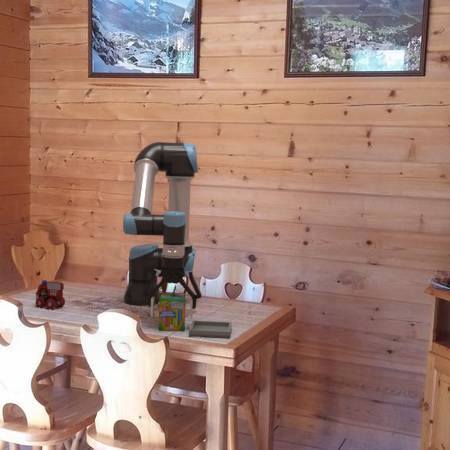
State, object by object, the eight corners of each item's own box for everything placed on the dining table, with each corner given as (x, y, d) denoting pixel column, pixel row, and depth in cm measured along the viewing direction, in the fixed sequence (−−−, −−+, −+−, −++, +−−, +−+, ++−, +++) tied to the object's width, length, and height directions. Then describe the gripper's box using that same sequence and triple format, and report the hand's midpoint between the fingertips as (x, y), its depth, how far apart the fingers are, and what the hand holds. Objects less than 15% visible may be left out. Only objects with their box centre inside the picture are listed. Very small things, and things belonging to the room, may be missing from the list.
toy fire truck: (43, 303, 269) (43, 277, 268) (68, 307, 264) (68, 281, 263) (31, 306, 263) (31, 280, 262) (56, 311, 257) (56, 283, 256)
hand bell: (175, 319, 251) (176, 276, 249) (152, 319, 249) (154, 276, 248) (173, 314, 259) (175, 272, 257) (151, 314, 258) (152, 272, 256)
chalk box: (158, 324, 242) (159, 283, 241) (184, 324, 243) (185, 283, 242) (158, 330, 233) (159, 288, 232) (184, 331, 234) (186, 288, 232)
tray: (188, 336, 227) (189, 330, 227) (192, 326, 240) (193, 320, 240) (229, 338, 226) (230, 331, 226) (231, 328, 240) (231, 322, 240)
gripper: (135, 256, 232) (134, 317, 234) (208, 259, 231) (206, 321, 233) (139, 253, 240) (138, 312, 242) (210, 256, 239) (208, 316, 241)
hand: (171, 317), depth 238 cm, fingers open, 13 cm apart
